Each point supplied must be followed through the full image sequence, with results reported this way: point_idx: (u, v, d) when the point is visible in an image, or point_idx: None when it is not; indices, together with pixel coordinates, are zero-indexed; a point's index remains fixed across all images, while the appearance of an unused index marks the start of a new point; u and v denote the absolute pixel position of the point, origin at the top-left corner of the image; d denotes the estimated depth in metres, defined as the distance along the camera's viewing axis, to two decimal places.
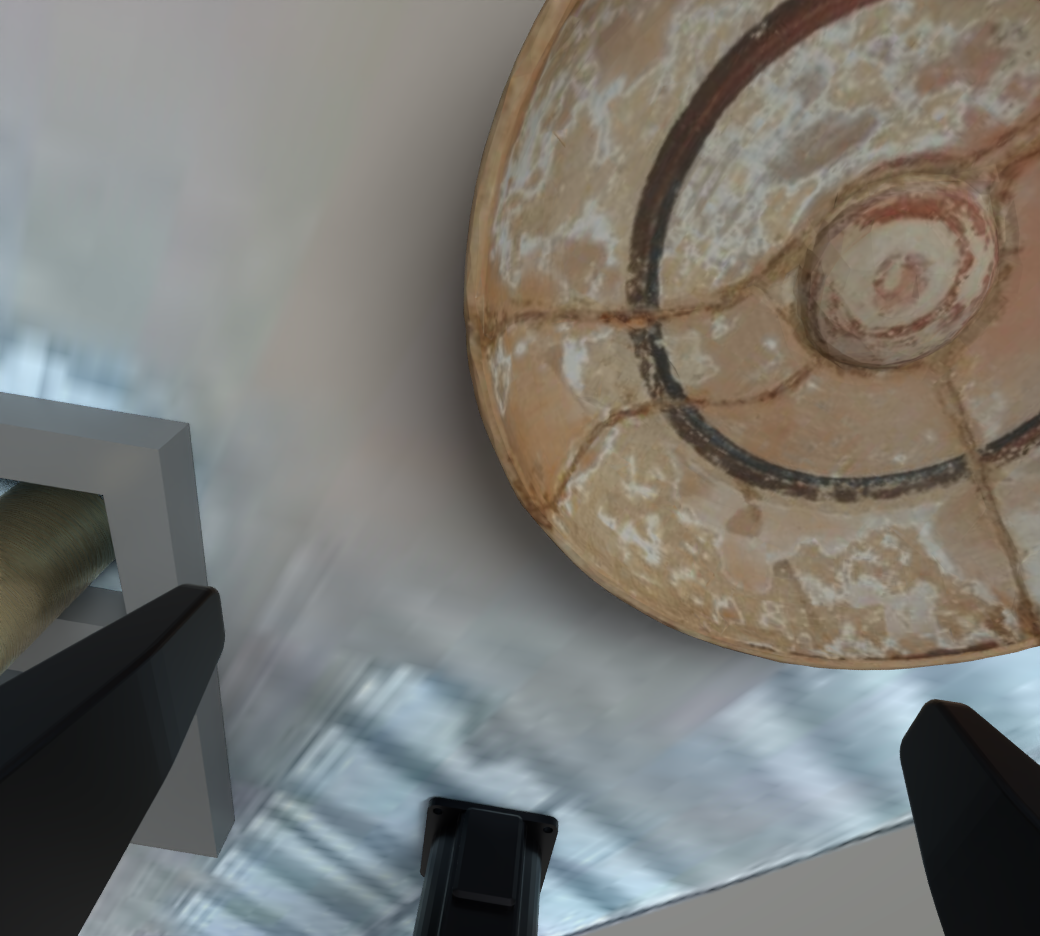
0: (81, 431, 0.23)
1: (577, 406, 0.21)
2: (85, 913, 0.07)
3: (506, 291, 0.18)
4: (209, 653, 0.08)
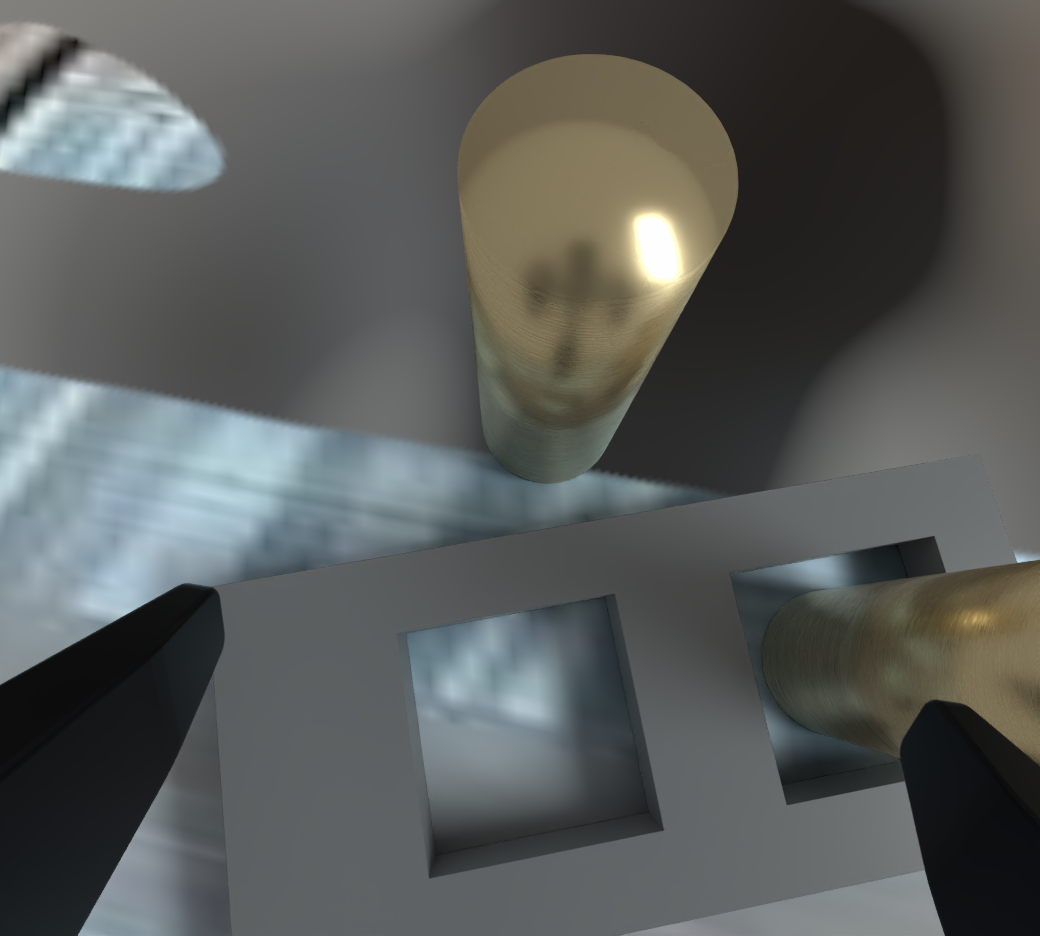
0: None
1: None
2: (85, 913, 0.07)
3: None
4: (209, 653, 0.08)
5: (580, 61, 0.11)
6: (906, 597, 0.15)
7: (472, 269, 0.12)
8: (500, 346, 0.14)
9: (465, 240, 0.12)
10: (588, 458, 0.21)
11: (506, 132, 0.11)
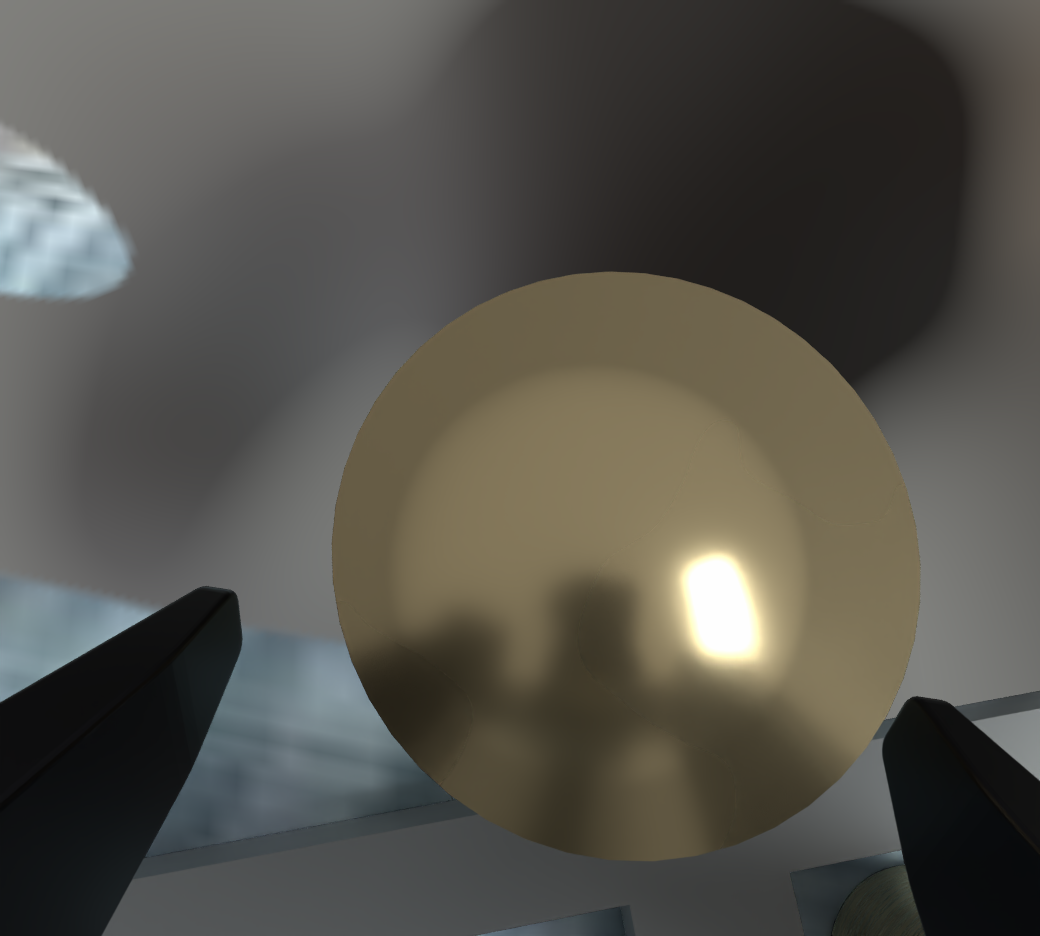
0: None
1: None
2: (108, 917, 0.07)
3: None
4: (227, 656, 0.08)
5: (592, 287, 0.06)
6: None
7: None
8: None
9: None
10: None
11: (439, 444, 0.05)
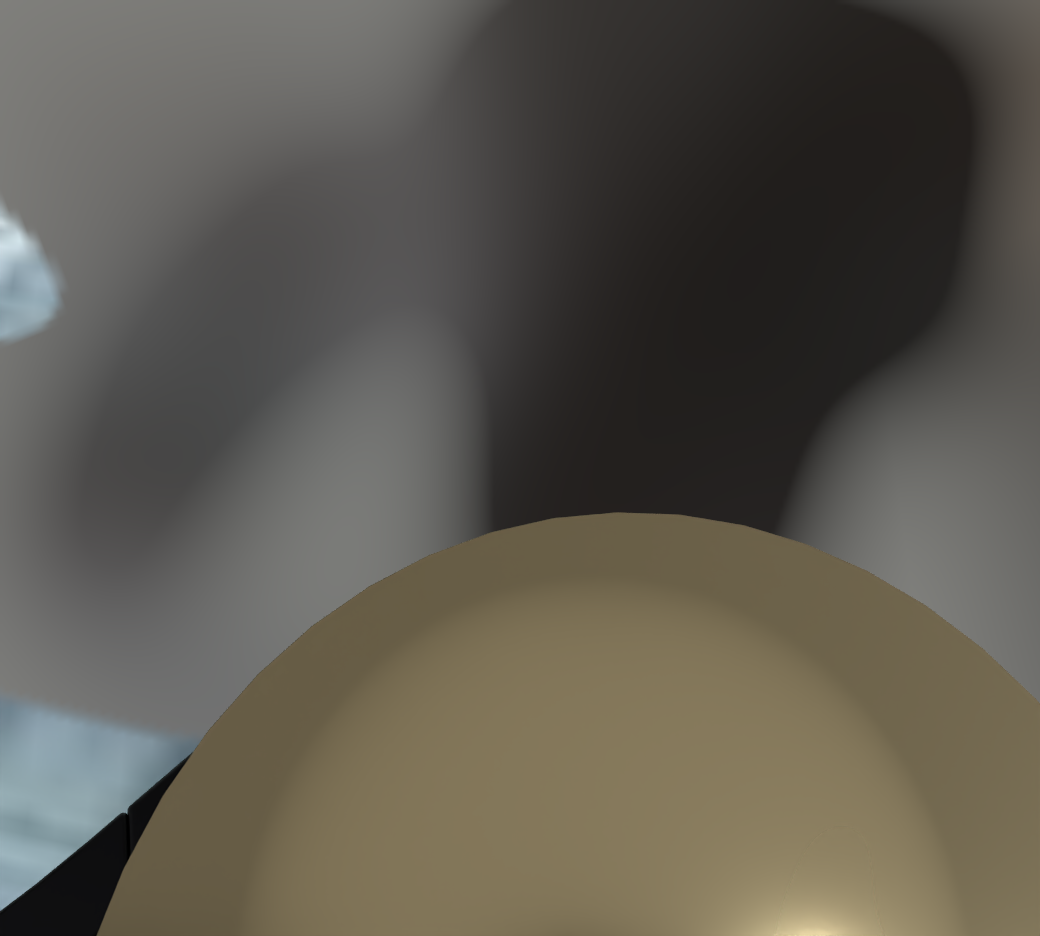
0: None
1: None
2: None
3: None
4: None
5: (586, 545, 0.03)
6: None
7: None
8: None
9: None
10: None
11: (284, 889, 0.03)
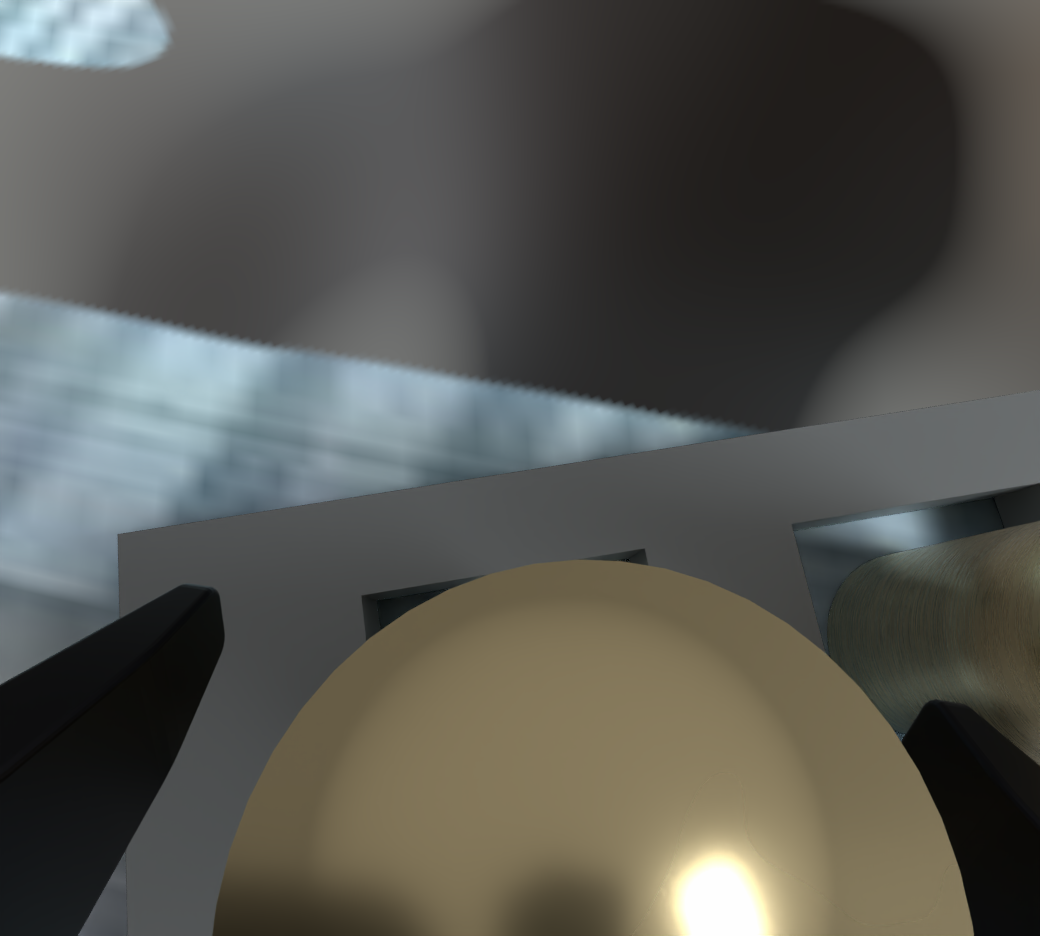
0: None
1: None
2: (85, 914, 0.07)
3: None
4: (209, 653, 0.08)
5: (556, 582, 0.05)
6: None
7: None
8: None
9: None
10: None
11: (355, 812, 0.04)
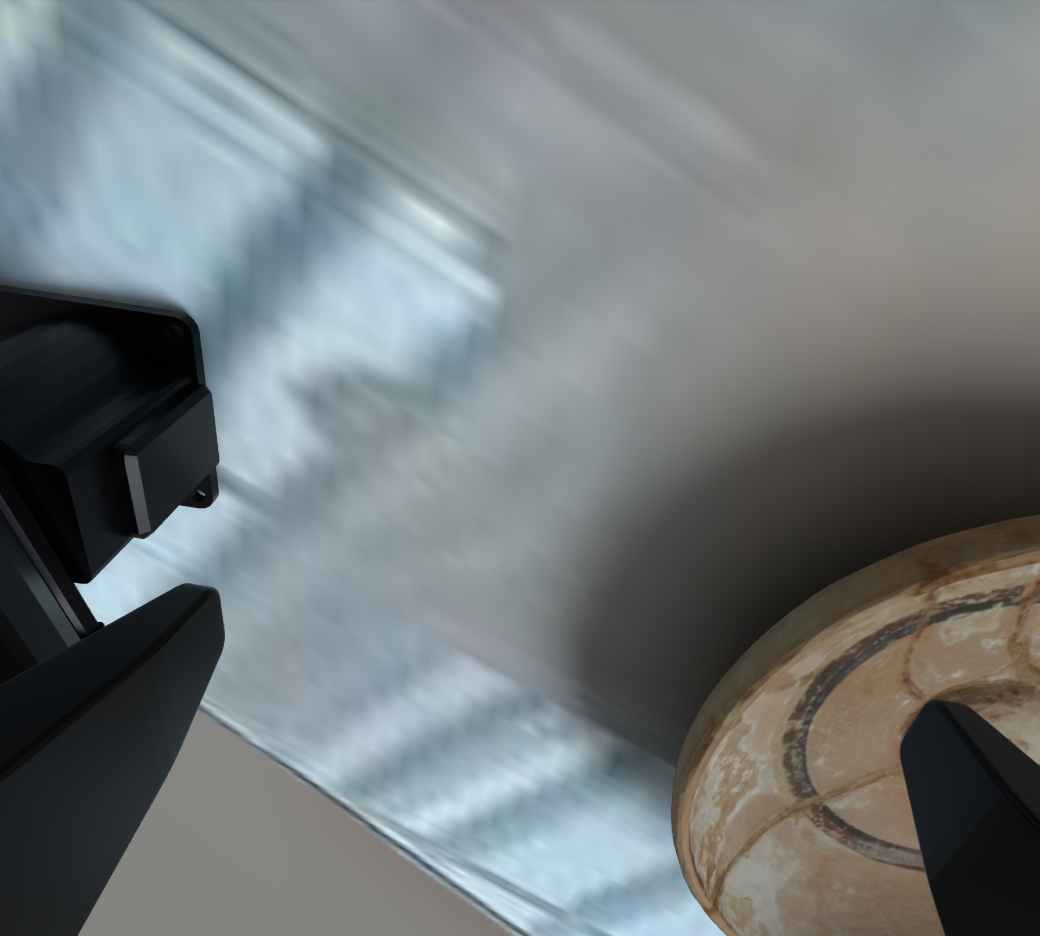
0: None
1: None
2: (86, 914, 0.07)
3: None
4: (209, 653, 0.08)
5: None
6: None
7: None
8: None
9: None
10: None
11: None
